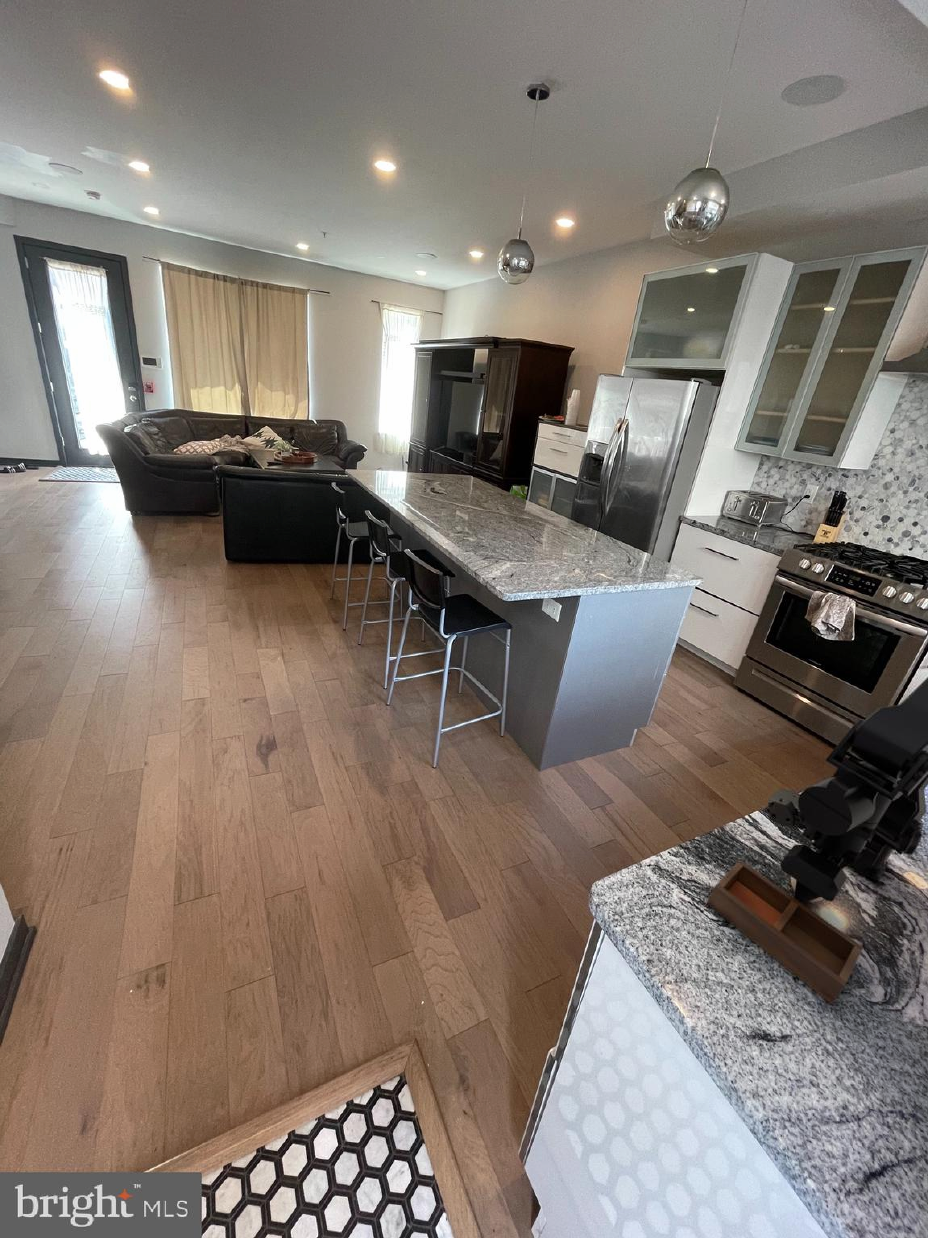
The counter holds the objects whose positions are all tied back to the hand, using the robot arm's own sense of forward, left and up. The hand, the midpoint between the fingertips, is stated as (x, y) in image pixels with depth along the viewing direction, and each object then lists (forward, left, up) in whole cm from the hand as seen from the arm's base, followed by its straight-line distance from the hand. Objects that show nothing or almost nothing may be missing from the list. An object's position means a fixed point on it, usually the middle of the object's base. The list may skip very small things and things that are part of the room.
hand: (805, 890), depth 73 cm
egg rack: (+10, 0, -1) cm, 10 cm away
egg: (0, 0, -1) cm, 1 cm away
